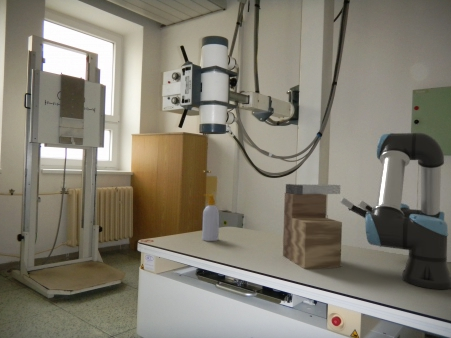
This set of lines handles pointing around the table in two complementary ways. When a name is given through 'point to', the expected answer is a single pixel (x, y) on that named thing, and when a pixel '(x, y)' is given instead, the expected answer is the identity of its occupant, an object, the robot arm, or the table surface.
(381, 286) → the table surface
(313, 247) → the walnut step stand
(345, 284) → the table surface
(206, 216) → the soap bottle
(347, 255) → the table surface
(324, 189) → the steel bar
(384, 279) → the table surface
